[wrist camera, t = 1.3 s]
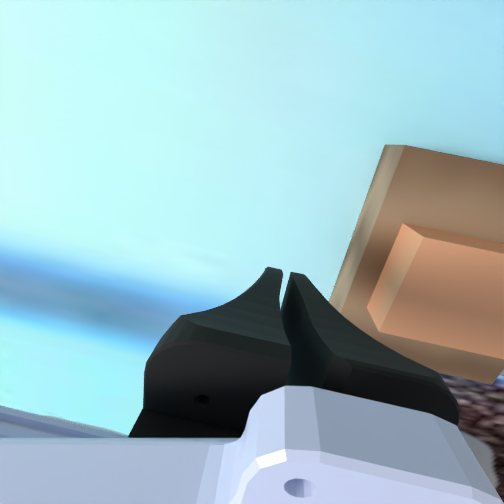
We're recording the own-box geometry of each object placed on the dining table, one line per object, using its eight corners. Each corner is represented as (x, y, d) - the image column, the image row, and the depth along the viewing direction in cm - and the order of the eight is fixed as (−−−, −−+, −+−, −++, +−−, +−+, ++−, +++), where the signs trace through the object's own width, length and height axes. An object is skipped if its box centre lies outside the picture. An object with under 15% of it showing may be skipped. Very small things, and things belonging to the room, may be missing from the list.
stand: (465, 354, 22) (491, 384, 19) (321, 322, 22) (327, 347, 19) (578, 183, 16) (638, 191, 14) (385, 144, 17) (405, 145, 14)
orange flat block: (501, 336, 18) (534, 366, 15) (366, 307, 18) (378, 331, 16) (559, 255, 15) (607, 275, 13) (402, 223, 15) (423, 237, 13)
